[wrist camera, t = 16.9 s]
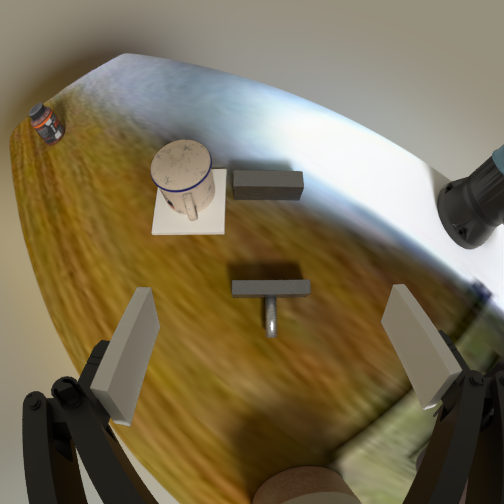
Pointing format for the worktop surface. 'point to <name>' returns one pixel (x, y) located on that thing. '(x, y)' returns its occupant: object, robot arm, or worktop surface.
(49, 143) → the supplement bottle
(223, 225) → the tile
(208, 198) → the teacup with lid
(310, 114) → the worktop surface
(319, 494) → the planter
